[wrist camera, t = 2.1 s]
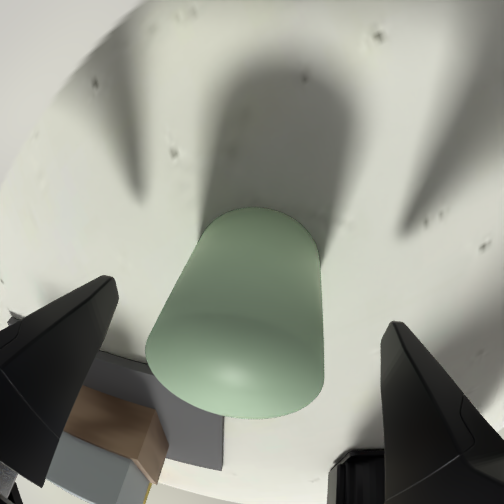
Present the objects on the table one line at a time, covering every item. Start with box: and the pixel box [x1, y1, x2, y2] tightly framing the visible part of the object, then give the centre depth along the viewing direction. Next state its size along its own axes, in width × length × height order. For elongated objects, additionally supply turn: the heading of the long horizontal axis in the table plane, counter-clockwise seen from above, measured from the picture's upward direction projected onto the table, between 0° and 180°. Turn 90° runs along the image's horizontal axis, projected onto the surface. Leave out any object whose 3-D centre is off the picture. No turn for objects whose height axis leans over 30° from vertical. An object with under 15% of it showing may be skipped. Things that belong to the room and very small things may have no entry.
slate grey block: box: [46, 431, 150, 504], centre depth 15 cm, size 6×6×4 cm
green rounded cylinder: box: [145, 207, 324, 419], centre depth 9 cm, size 4×4×5 cm
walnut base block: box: [63, 385, 169, 485], centre depth 19 cm, size 7×7×4 cm
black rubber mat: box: [7, 317, 224, 471], centre depth 21 cm, size 16×16×1 cm
